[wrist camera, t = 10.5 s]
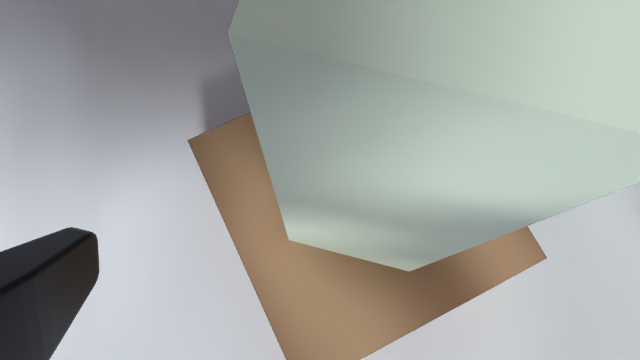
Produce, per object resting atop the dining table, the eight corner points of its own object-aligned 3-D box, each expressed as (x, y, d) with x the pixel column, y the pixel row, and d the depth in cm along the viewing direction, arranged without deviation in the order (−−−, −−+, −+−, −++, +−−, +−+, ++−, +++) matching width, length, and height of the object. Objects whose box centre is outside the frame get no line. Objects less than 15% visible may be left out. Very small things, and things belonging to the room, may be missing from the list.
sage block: (409, 271, 17) (717, 151, 4) (288, 240, 17) (226, 33, 4) (432, 156, 18) (724, -209, 5) (319, 129, 18) (341, -287, 5)
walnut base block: (302, 375, 19) (300, 392, 15) (209, 170, 22) (187, 140, 18) (502, 267, 21) (547, 258, 17) (394, 86, 23) (411, 41, 19)
